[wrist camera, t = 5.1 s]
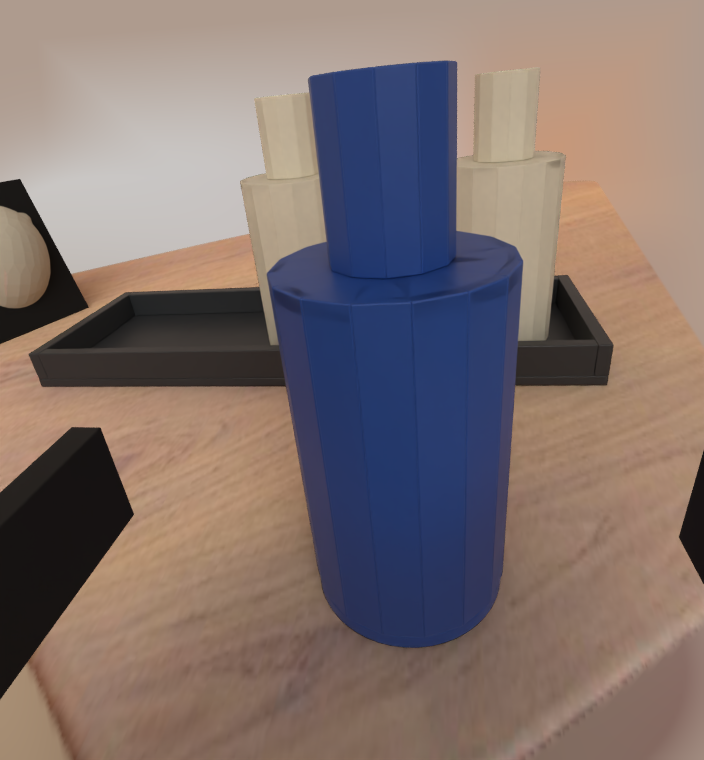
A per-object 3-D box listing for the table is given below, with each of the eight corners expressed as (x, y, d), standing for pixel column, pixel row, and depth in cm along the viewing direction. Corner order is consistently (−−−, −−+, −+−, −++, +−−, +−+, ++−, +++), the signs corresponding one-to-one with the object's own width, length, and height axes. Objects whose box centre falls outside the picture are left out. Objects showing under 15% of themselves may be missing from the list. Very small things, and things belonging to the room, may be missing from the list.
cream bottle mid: (380, 342, 38) (362, 87, 30) (302, 375, 35) (259, 96, 27) (328, 320, 43) (300, 94, 35) (255, 346, 40) (207, 103, 32)
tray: (564, 306, 41) (567, 274, 40) (607, 385, 30) (614, 344, 29) (133, 318, 48) (125, 292, 47) (42, 386, 37) (27, 354, 36)
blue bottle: (539, 572, 19) (600, 44, 11) (401, 691, 16) (352, 59, 8) (413, 484, 24) (394, 74, 16) (288, 560, 21) (188, 91, 13)
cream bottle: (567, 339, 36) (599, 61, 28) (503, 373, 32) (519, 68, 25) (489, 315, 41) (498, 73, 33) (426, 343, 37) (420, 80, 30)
